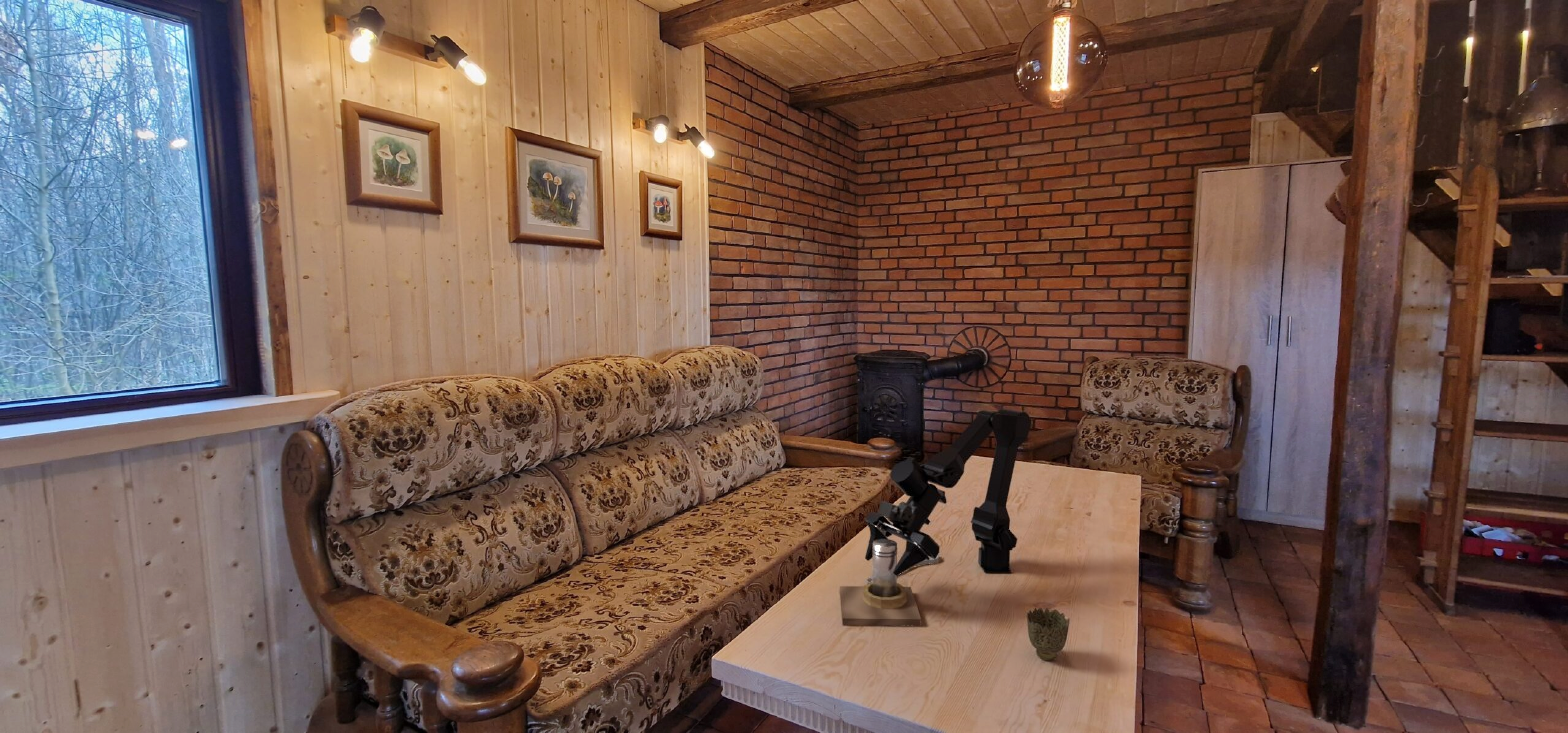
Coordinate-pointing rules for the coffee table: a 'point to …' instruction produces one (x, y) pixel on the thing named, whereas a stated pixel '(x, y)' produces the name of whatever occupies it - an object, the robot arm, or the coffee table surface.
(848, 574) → the coffee table surface
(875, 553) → the silver metal cylinder
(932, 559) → the adjustable wrench
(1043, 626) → the cup
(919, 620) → the ring seat
